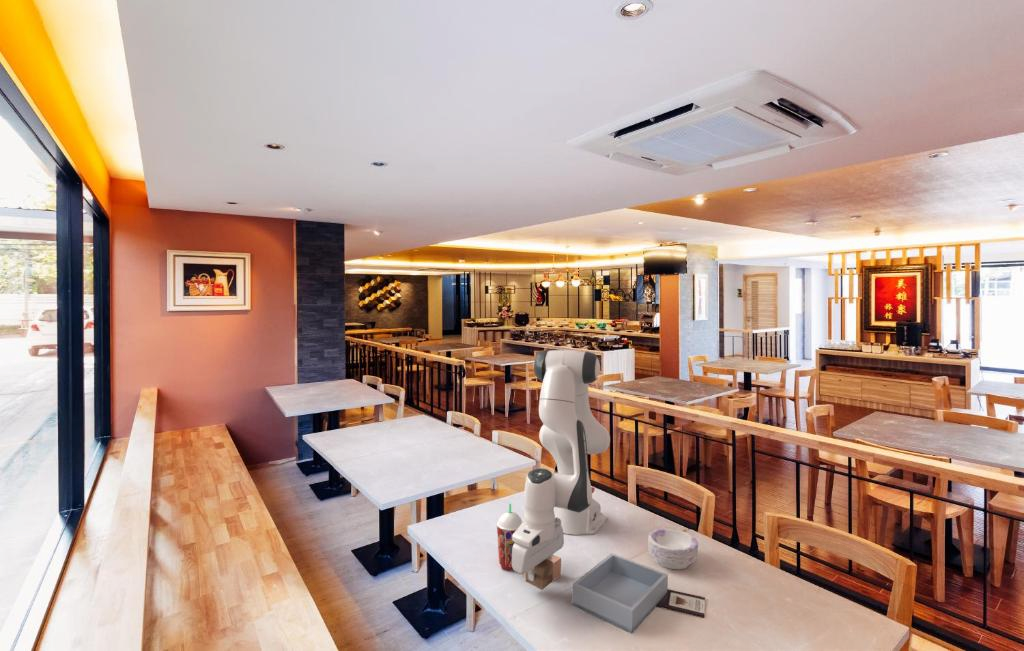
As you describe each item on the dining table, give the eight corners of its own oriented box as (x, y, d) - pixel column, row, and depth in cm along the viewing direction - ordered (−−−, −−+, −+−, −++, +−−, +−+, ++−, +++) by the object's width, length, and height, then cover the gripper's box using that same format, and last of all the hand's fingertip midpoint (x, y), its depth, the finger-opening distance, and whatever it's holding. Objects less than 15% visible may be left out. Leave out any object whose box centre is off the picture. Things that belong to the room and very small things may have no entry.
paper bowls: (653, 546, 171) (654, 523, 171) (700, 557, 164) (701, 533, 164) (642, 567, 158) (643, 542, 158) (693, 580, 151) (694, 554, 150)
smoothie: (520, 574, 153) (520, 510, 152) (493, 571, 155) (494, 508, 154) (525, 560, 161) (525, 499, 160) (499, 557, 163) (500, 497, 162)
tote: (611, 571, 155) (611, 553, 155) (667, 594, 144) (667, 574, 143) (571, 605, 138) (572, 584, 138) (631, 633, 127) (632, 610, 126)
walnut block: (536, 573, 148) (536, 554, 147) (552, 581, 144) (552, 561, 143) (525, 581, 144) (525, 561, 143) (542, 589, 140) (542, 569, 139)
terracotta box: (548, 570, 156) (549, 553, 156) (560, 575, 153) (561, 557, 153) (540, 576, 153) (540, 558, 152) (552, 581, 150) (552, 563, 149)
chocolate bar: (639, 582, 149) (705, 597, 142) (639, 585, 149) (704, 600, 142) (635, 599, 140) (703, 616, 133) (635, 602, 140) (703, 619, 133)
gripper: (551, 512, 152) (551, 555, 153) (507, 537, 137) (507, 586, 138) (569, 518, 148) (568, 563, 149) (526, 545, 133) (525, 595, 134)
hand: (539, 574), depth 144 cm, fingers closed on walnut block, 5 cm apart
